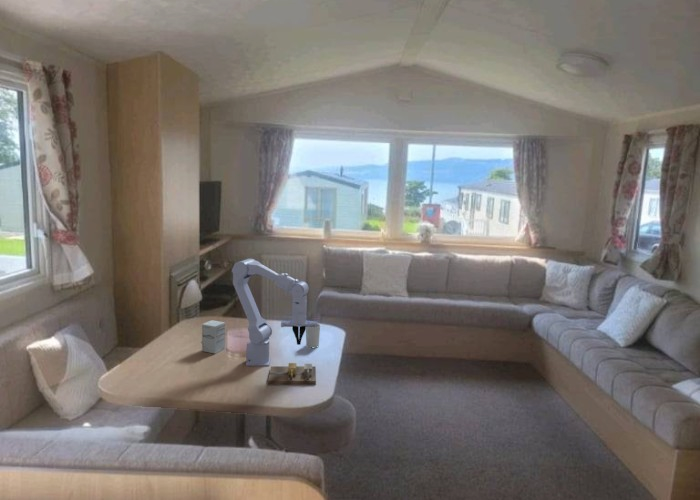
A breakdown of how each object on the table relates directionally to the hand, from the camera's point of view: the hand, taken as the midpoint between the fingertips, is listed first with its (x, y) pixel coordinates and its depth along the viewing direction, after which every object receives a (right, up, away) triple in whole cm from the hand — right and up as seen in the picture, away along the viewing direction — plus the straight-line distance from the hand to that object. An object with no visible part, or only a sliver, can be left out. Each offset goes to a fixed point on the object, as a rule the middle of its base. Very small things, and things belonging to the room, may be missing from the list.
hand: (298, 343), depth 197 cm
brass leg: (-2, -10, -9) cm, 14 cm away
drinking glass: (+3, -7, +28) cm, 29 cm away
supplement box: (-40, -7, +18) cm, 44 cm away
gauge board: (-2, -12, -7) cm, 14 cm away
